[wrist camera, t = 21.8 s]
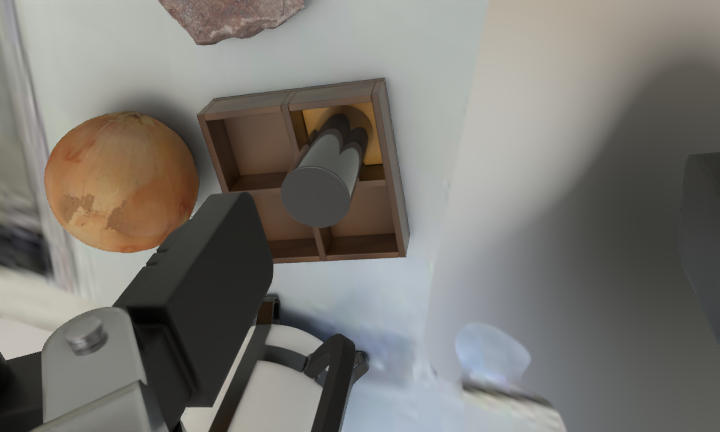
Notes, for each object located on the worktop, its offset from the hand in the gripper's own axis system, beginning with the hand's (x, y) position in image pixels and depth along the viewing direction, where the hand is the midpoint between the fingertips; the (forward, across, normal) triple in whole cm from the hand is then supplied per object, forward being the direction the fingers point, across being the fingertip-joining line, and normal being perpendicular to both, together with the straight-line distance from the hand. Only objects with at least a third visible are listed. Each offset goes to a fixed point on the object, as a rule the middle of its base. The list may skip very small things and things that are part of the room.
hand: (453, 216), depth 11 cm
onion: (+28, +24, +10) cm, 38 cm away
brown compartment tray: (+28, +12, +12) cm, 33 cm away
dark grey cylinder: (+27, +10, +9) cm, 30 cm away
